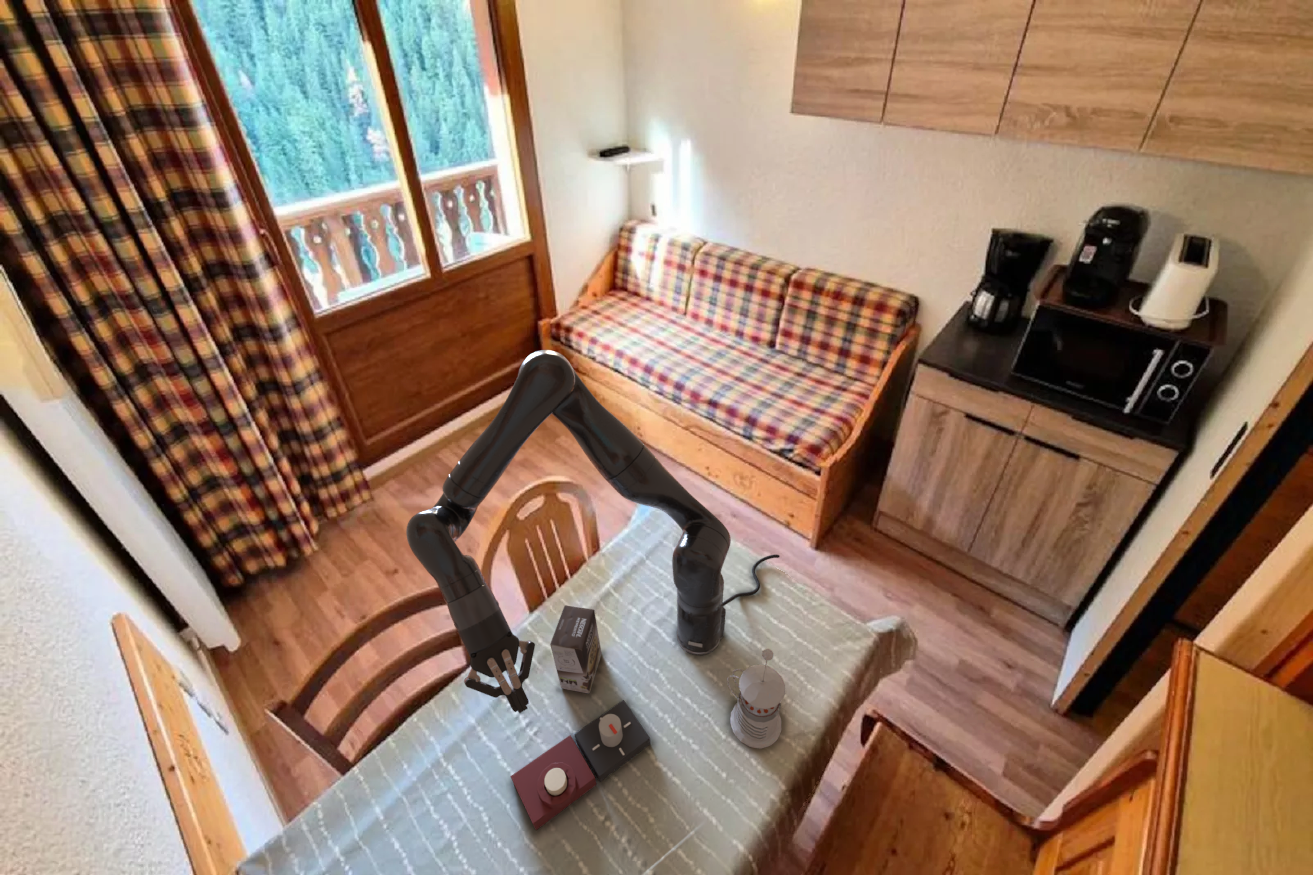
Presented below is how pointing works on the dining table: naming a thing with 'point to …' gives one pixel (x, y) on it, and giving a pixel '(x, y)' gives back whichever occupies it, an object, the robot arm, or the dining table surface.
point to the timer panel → (614, 757)
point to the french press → (758, 704)
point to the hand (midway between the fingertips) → (522, 710)
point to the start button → (555, 781)
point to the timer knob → (610, 730)
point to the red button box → (533, 781)
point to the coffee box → (576, 648)
